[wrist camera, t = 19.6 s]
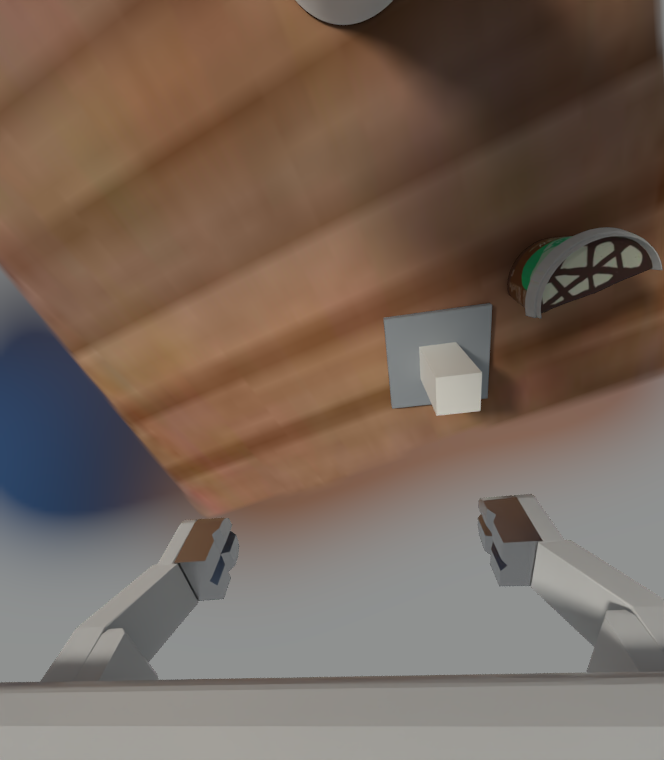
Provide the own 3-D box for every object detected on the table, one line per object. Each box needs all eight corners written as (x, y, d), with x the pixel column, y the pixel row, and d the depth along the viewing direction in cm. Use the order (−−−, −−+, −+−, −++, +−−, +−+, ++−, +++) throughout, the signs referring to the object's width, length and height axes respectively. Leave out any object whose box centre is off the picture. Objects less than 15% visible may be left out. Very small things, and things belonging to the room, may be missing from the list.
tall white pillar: (419, 346, 46) (435, 377, 37) (456, 342, 45) (482, 372, 36) (420, 378, 48) (436, 415, 39) (455, 374, 47) (480, 411, 38)
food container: (591, 206, 38) (665, 202, 29) (598, 256, 41) (668, 267, 32) (484, 255, 41) (522, 265, 32) (497, 299, 44) (535, 320, 35)
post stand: (383, 317, 45) (389, 336, 38) (489, 303, 44) (516, 319, 37) (391, 405, 51) (398, 435, 44) (485, 394, 50) (507, 424, 42)
